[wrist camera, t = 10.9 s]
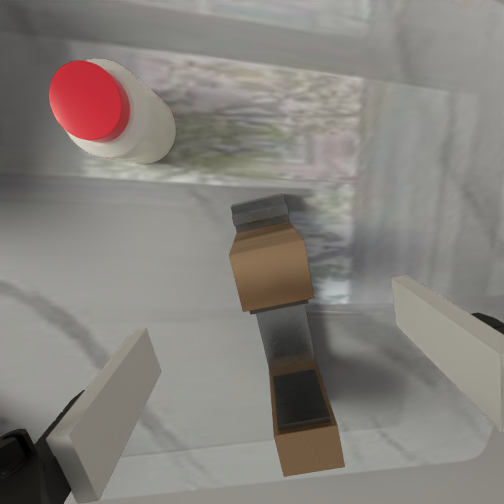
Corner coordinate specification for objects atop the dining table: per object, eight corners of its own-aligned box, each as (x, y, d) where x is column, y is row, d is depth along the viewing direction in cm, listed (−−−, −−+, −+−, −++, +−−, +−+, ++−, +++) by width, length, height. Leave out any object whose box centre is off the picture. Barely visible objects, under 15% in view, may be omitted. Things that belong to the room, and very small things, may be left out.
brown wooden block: (236, 233, 32) (229, 255, 22) (288, 221, 32) (303, 239, 22) (247, 278, 34) (244, 318, 24) (297, 268, 33) (315, 304, 23)
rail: (232, 204, 34) (219, 217, 22) (281, 193, 34) (297, 200, 21) (279, 404, 41) (289, 499, 29) (320, 397, 40) (349, 490, 28)
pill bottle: (134, 73, 31) (70, 16, 20) (190, 125, 32) (157, 97, 21) (94, 130, 32) (13, 105, 21) (148, 178, 33) (98, 176, 23)
